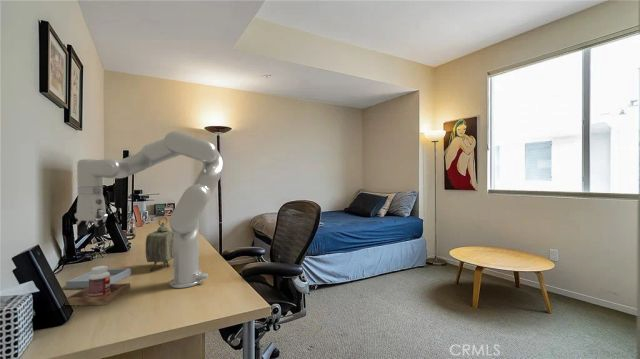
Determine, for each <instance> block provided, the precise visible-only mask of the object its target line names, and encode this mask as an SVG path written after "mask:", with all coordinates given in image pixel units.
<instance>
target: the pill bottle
mask: <svg viewBox="0 0 640 359" xmlns="http://www.w3.org/2000/svg"><path fill="white" fill-rule="evenodd" d="M108 269H109V268H108V266H107V265H100V266H95V267H92V268H91V270H90V271H91V272H92V274H91V275H90V276H89V295H88V297H105V296H107V295H108V294H110V293H111V291H110V273H109V272H107V270H108Z"/></svg>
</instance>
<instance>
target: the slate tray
mask: <svg viewBox="0 0 640 359" xmlns="http://www.w3.org/2000/svg"><path fill="white" fill-rule="evenodd" d="M107 272H109V273H110V284H118V283H119V282H120V281H123V280H124V279H126V278H127V277H130V276H132V269H131V268H108V270H107ZM91 274H92V272H91V270H90V271H89V272H86V273H84V274H81V275H79V276H76V277H73V278H72V279H68V280H67V281H65V289H66V290H69V289H70V290H73V289H75V290H77V289H78V290H79V289H80V290H81V289H82V290H84V289H86V288H88V287H89V276H90V275H91Z"/></svg>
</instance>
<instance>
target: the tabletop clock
mask: <svg viewBox="0 0 640 359" xmlns="http://www.w3.org/2000/svg"><path fill="white" fill-rule="evenodd" d="M162 219H165V222H161V220H162ZM160 222H161V223H160ZM167 223H168V218H167V217H166V216H162V217H160V218H159V219H158V222H157V224H158V225H159V227H158V228H157V230H155V231H152V232H150V233H149V234H147V235H146V239H145V249H144V250H145V259H146V262H147V263H153V265H152V266H151V267H150V268H149V270H150V271H153V270H154V269H155V266H156V264H158V263H163V264H164V265H165V267H166V268H170V263H168V261H171V260H173V259H174V231H172V230H170V229H169V228H170V227H168V226H166V225H167Z"/></svg>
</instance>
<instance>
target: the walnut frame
mask: <svg viewBox="0 0 640 359" xmlns="http://www.w3.org/2000/svg"><path fill="white" fill-rule="evenodd" d="M130 290H131V283H130V282H128V283H115V284H110V294H108V295H107V296H105V297H89V287H88V288H86V289H82V290H79V291H78V292H76V293H74V294H71V295H70V296H67V297H66V298H67V299H68V301H69V303H70V304H71V305H72V306H71V307H74V306H73V305H75V307H76V306H77V305H80V306H82V307H83V306H105V305H107V304H109V303H110V302H112V301H114V300H115V299H117V298H119V297H120V296H122V295H124V294H125V293H127V292H129V291H130ZM77 307H78V306H77Z"/></svg>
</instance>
